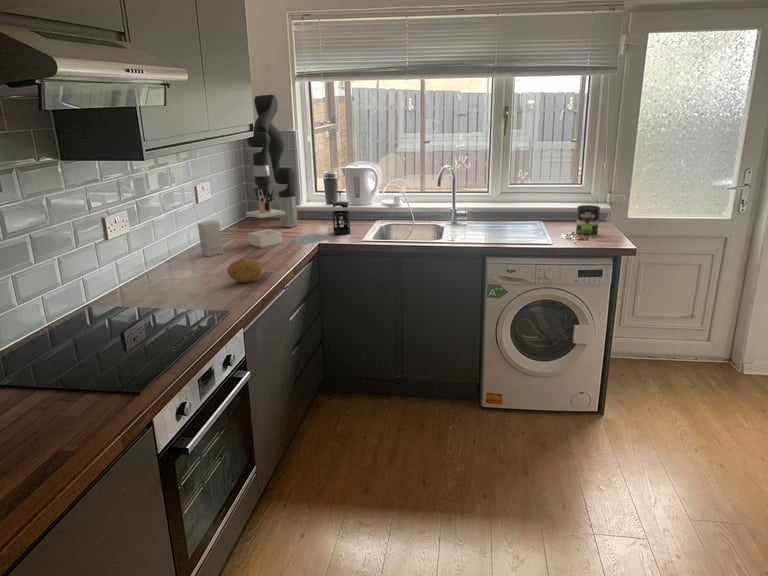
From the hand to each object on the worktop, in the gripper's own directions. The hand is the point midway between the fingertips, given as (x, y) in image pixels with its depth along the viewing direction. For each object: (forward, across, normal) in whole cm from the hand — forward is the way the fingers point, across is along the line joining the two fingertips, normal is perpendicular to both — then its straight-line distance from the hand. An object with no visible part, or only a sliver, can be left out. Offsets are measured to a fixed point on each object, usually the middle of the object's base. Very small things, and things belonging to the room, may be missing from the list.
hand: (265, 209), depth 283 cm
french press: (+18, +11, +39) cm, 44 cm away
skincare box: (+18, -2, -29) cm, 34 cm away
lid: (+2, 0, 0) cm, 2 cm away
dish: (+17, -1, -1) cm, 17 cm away
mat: (+17, +8, +20) cm, 27 cm away
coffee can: (+17, +108, +116) cm, 160 cm away
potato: (+18, +51, -41) cm, 67 cm away
